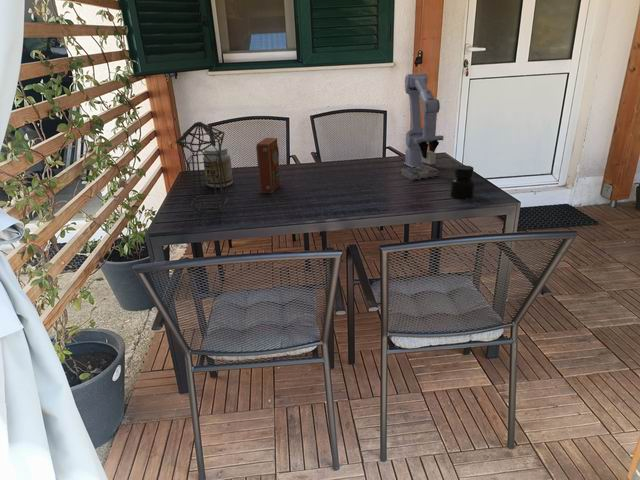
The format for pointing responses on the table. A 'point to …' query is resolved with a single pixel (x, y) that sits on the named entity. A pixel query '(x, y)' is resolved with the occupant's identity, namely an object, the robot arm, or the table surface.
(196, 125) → the geometric lantern
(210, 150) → the supplement tub
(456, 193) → the ink bottle
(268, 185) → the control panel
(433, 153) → the beige rectangular block
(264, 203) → the table surface
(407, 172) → the rack
